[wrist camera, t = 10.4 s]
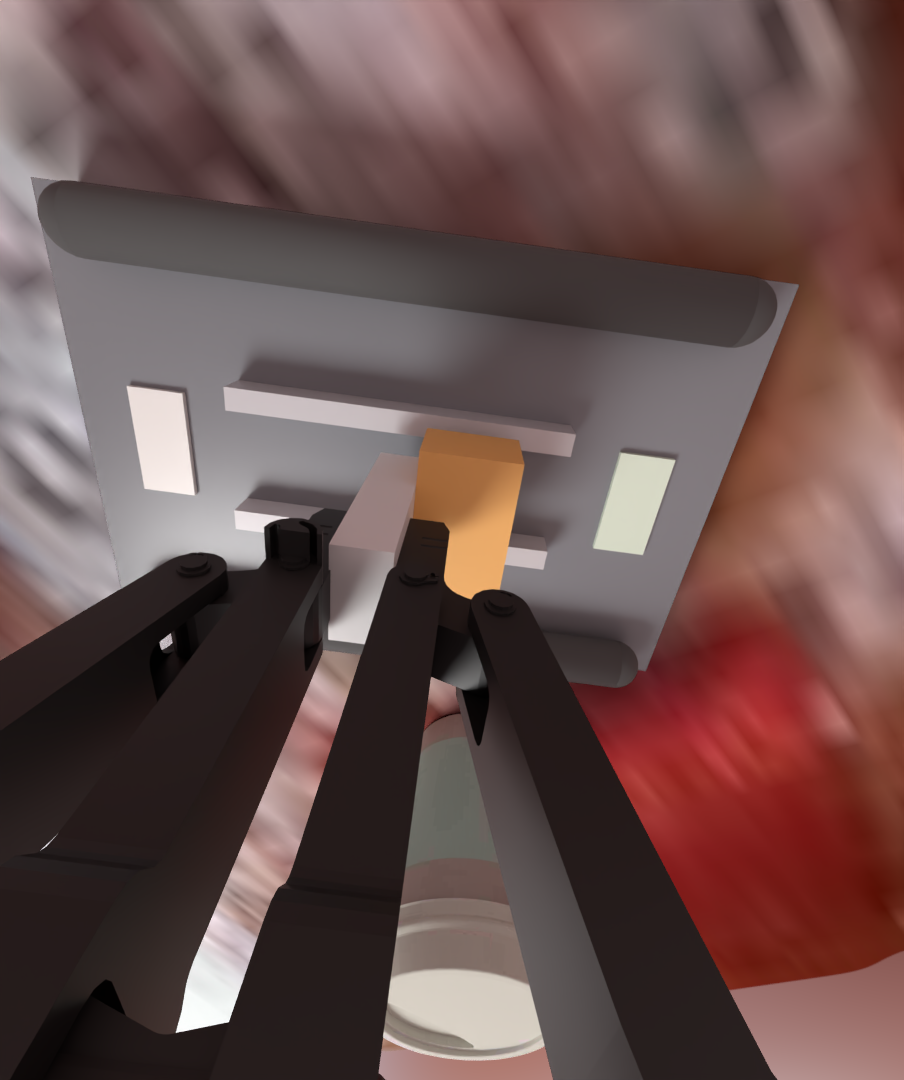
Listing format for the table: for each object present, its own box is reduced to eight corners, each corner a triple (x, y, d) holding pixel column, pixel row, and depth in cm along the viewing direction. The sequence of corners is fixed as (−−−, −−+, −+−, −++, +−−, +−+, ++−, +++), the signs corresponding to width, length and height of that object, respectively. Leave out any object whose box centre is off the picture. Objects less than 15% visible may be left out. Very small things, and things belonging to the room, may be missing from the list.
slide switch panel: (149, 579, 25) (107, 619, 22) (76, 186, 17) (-3, 169, 15) (634, 643, 25) (653, 690, 22) (767, 283, 18) (821, 285, 15)
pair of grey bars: (146, 606, 23) (118, 633, 21) (63, 181, 16) (9, 169, 14) (624, 668, 23) (636, 700, 22) (767, 280, 16) (804, 280, 14)
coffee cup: (376, 704, 28) (313, 968, 17) (531, 684, 27) (564, 954, 16) (416, 803, 32) (383, 1069, 21) (553, 789, 30) (591, 1065, 20)
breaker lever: (419, 535, 21) (405, 596, 17) (432, 412, 18) (419, 450, 14) (493, 545, 21) (495, 608, 17) (515, 424, 18) (524, 465, 14)
